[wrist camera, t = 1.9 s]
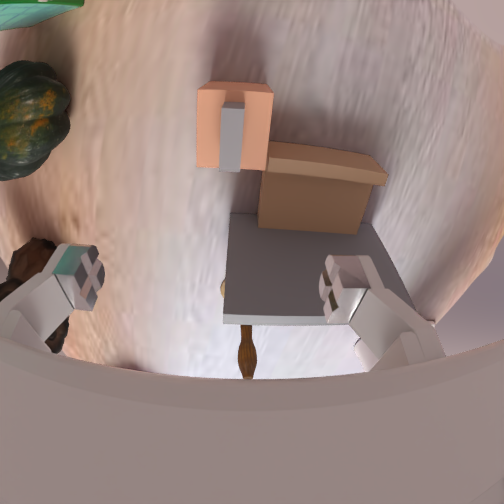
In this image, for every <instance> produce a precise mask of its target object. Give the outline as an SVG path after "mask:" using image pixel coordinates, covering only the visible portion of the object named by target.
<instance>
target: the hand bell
mask: <svg viewBox="0 0 504 504" xmlns="http://www.w3.org/2000/svg"><path fill="white" fill-rule="evenodd" d="M224 292H225V280H224V281H223V283H222V285H221V294H222V296H223V298H224ZM238 364H239V368H240V371H241V373H242V376H243V379H253V375H254V371H255V368H256V364H257V355H256V349H255V346H254V344H253V341H252V325H241V343H240V346H239V350H238Z"/></svg>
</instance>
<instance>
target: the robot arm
mask: <svg viewBox="0 0 504 504" xmlns="http://www.w3.org/2000/svg"><path fill="white" fill-rule="evenodd" d="M98 255H99V253H98V250H97V247H96V246H94V245H85V244H66V243H62V244H60V245H59V246H58V247H57V249H56V250H55V252H54V253H53V255H52V256H51V258H50V259H49V261H48V263H47V264H46V266H45V267H44V269H43V271H42V272H41V273H37V274H36V275H35V276H33V277H32V278H30V279H29V280H28V281H26V282H25V283H24V284H22V285H21V286H20V287H19V288H17V289H16V290H15V291H13V292H12V293H11V294H10V295H8V296H7V297H6V298H5V299H3V300H2V301H1V302H0V504H504V339H502V340H500V341H497V342H494V343H491V344H488V345H485V346H482V347H479V348H475V349H472V350H469V351H466V352H462V353H459V354H455V355H451V356H447V357H446V355H445V353H444V350H443V348H442V345H441V343H440V340H439V338H438V335H437V333H436V331H435V323H434V321H426V320H425V319H424V318H423V317H422V316H420V315H419V314H418V313H417V312H416V311H415V310H413V309H412V308H411V307H410V306H409V305H408V304H406V303H405V302H404V301H403V300H402V299H400V298H399V297H398V296H397V295H396V294H394V293H393V292H392V291H391V290H390V289H385V287H384V285H383V283H382V281H381V279H380V276H379V274H378V272H377V270H376V268H375V266H374V264H373V261H372V259H371V258H370V257H369V256H368V255H355V256H354V255H328V257H327V258H326V261H325V265H326V269H325V270H324V271H323V272H322V273H321V277H320V281H319V293H320V297H321V299H322V300H323V301H324V302H325V305H324V307H323V310H324V314H325V318H326V322H327V324H331V323H349V325H350V326H351V328H352V329H353V330H354V331H355V332H356V334H357V335H358V336H359V337H360V338H361V339H360V340H359V341H358V342H357V343H356V345H355V347H354V352H355V354H356V355H357V357H358V359H359V360H360V362H361V365H362V367H363V369H364V372H363V373H355V374H346V375H337V376H325V377H312V378H294V379H221V378H202V377H189V376H178V375H168V374H159V373H151V372H144V371H137V370H130V369H124V368H118V367H112V366H107V365H102V364H97V363H92V362H87V361H83V360H78V359H74V358H70V357H66V356H62V355H58V354H55V353H52V352H51V349H50V348H49V347H48V346H47V345H46V344H45V340H46V339H47V338H48V337H49V336H50V335H51V334H52V333H53V332H54V331H55V330H56V328H57V327H58V326H59V325H60V324H61V323H62V322H63V321H64V320H65V319H66V318H67V317H68V316H69V315H70V314H71V313H72V312H73V311H74V309H77V310H85V311H92V310H93V307H94V305H95V302H96V300H97V298H98V297H97V294H96V292H97V291H98V290H99V289H101V288H102V285H103V283H104V277H105V271H104V267H103V264H102V262H101V261H100V260H99V259H97V257H98Z"/></svg>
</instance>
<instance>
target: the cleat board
mask: <svg viewBox="0 0 504 504" xmlns="http://www.w3.org/2000/svg"><path fill="white" fill-rule="evenodd" d="M387 178H388V173H387V172H386V171H385V170H384V169H383V168H382V167H381V166H380V165H379V164H378V163H377V162H376V161H375V160H374V159H373V158H372V157H371V156H370V155H365V154H360V153H355V152H349V151H343V150H337V149H331V148H325V147H318V146H310V145H303V144H294V143H285V142H276V141H268V149H267V158H266V167H265V170H262V177H261V186H260V195H259V204H258V213H257V214H240V213H230V224H229V236H228V249H227V263H226V277H225V292H224V308H223V324H239V325H278V326H313V325H349V323H331V324H327V322H326V318H325V314H324V310H323V307H324V305H325V302H324V301H323V300H322V299H321V297H320V293H319V281H320V277H321V273H322V272H323V271H324V270H325V269H326V265H325V261H326V258H327V257H328V255H354V256H355V255H368V256H369V257H370V258H371V259H372V261H373V264H374V266H375V268H376V270H377V272H378V274H379V276H380V279H381V281H382V283H383V285H384V287H385V289H390V290H391V291H392V292H393V293H394V294H396V295H397V296H398V297H399V298H400V299H402V300H403V301H404V302H405V303H406V304H408V305H409V306H410V307H411V308H412V309H413V310H415V311H416V309H415V307H414V305H413V303H412V301H411V298H410V296H409V294H408V292H407V290H406V288H405V286H404V284H403V282H402V280H401V278H400V276H399V274H398V272H397V270H396V268H395V266H394V264H393V262H392V260H391V258H390V256H389V255H388V253H387V251H386V249H385V247H384V245H383V244H382V242H381V240H380V238H379V236H378V235H377V233H376V231H375V229H374V228H373V226H372V224H368V223H361V221H362V218H363V215H364V212H365V209H366V206H367V203H368V200H369V197H370V194H371V191H372V188H373V185H379V186H385V184H386V181H387Z"/></svg>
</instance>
